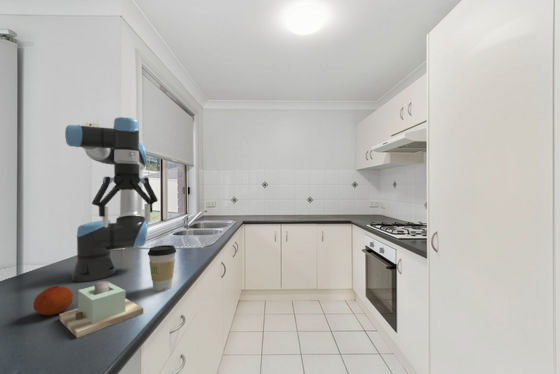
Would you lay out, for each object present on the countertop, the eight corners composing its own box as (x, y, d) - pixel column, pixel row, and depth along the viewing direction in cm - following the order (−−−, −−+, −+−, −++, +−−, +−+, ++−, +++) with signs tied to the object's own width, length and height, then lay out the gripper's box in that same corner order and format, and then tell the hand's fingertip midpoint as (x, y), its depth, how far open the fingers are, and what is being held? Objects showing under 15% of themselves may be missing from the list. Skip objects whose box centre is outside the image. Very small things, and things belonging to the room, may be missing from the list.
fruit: (80, 307, 82) (80, 281, 82) (49, 321, 73) (49, 292, 73) (58, 305, 84) (58, 280, 84) (26, 318, 75) (26, 290, 75)
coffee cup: (154, 283, 102) (153, 245, 102) (180, 282, 103) (179, 244, 103) (143, 293, 92) (142, 251, 92) (171, 292, 93) (171, 250, 93)
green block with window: (125, 311, 75) (125, 290, 75) (92, 322, 69) (92, 300, 69) (108, 301, 83) (108, 282, 83) (78, 310, 76) (77, 290, 76)
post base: (59, 319, 74) (58, 285, 74) (120, 300, 87) (120, 271, 87) (77, 338, 65) (76, 299, 65) (143, 313, 77) (143, 281, 77)
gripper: (87, 160, 79) (88, 230, 79) (166, 164, 99) (167, 220, 99) (80, 161, 84) (80, 227, 84) (157, 165, 103) (157, 219, 104)
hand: (127, 223), depth 91 cm, fingers open, 13 cm apart
